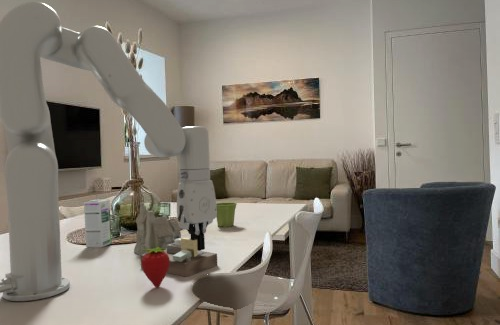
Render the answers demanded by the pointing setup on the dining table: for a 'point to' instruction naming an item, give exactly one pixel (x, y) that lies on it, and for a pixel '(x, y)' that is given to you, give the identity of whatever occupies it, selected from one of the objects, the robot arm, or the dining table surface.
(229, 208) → the plant pot
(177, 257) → the sage rocker
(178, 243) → the grey push button
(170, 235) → the grey irregular lump
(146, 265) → the strawberry
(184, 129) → the robot arm
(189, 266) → the switch panel
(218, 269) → the dining table surface
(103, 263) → the dining table surface
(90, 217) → the syrup box
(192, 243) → the beige flat square block
